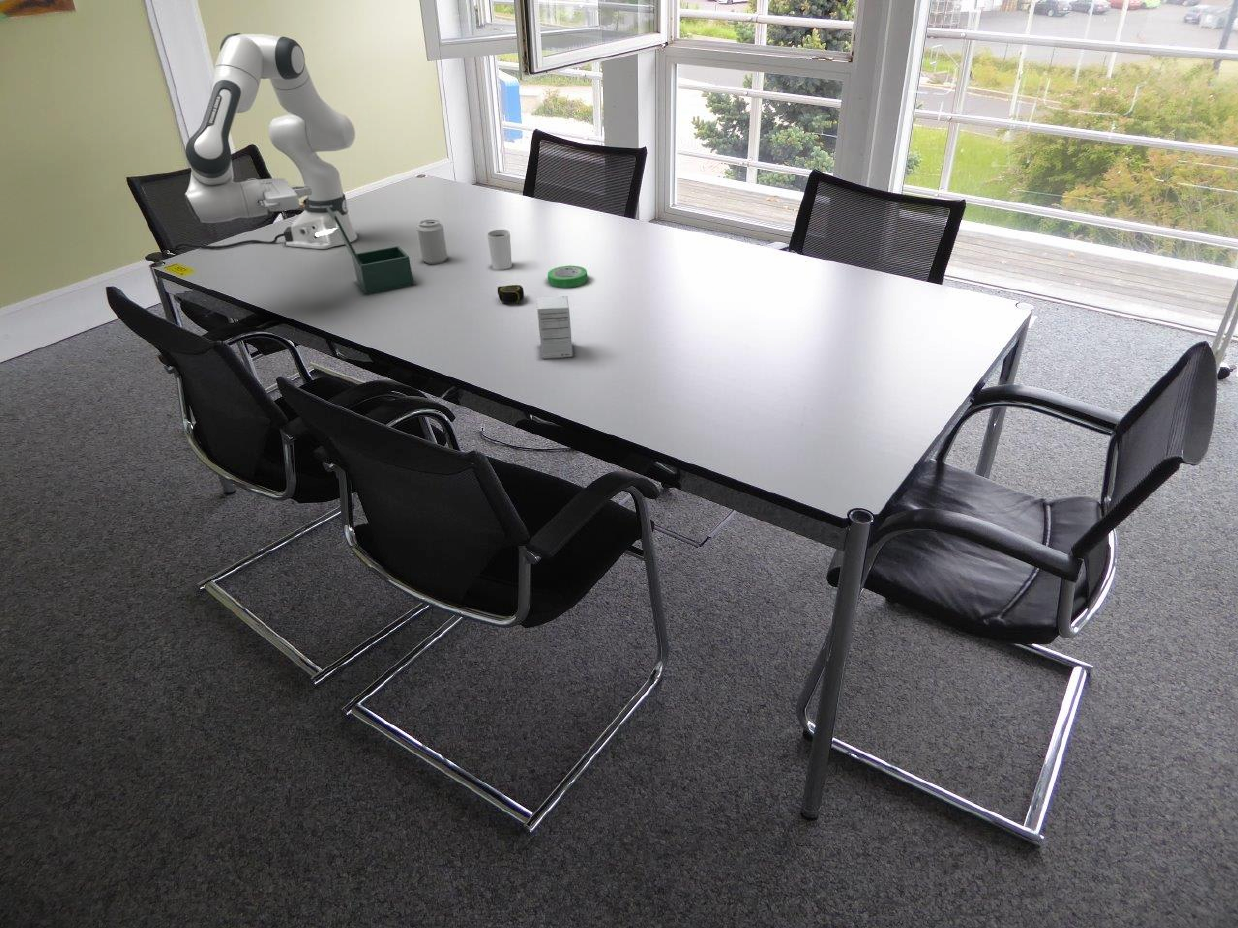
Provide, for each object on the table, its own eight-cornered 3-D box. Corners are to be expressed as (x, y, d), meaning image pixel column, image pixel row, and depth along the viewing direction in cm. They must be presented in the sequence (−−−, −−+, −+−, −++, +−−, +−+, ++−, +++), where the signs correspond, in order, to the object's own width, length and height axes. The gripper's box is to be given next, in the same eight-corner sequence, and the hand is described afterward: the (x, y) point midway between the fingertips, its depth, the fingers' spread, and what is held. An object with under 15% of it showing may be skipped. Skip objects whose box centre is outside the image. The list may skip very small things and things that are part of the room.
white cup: (517, 264, 259) (514, 231, 254) (505, 271, 254) (502, 238, 249) (498, 261, 262) (494, 228, 256) (486, 268, 257) (482, 235, 251)
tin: (403, 273, 256) (398, 245, 251) (413, 285, 247) (409, 256, 243) (357, 282, 251) (351, 254, 246) (366, 294, 242) (360, 266, 238)
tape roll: (540, 282, 246) (539, 273, 244) (568, 271, 252) (567, 262, 251) (567, 291, 239) (567, 282, 238) (595, 279, 246) (595, 270, 245)
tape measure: (523, 295, 238) (522, 282, 236) (525, 304, 232) (524, 291, 230) (498, 298, 237) (496, 284, 235) (500, 307, 231) (498, 294, 229)
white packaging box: (541, 346, 210) (536, 296, 203) (571, 344, 210) (568, 294, 203) (541, 359, 204) (536, 309, 197) (572, 357, 204) (569, 306, 197)
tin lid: (327, 206, 237) (325, 207, 237) (336, 216, 229) (333, 217, 229) (352, 252, 246) (350, 253, 246) (361, 264, 238) (359, 265, 238)
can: (450, 256, 267) (444, 217, 261) (443, 265, 261) (438, 225, 254) (426, 256, 268) (420, 217, 261) (419, 265, 262) (413, 225, 255)
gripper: (258, 195, 214) (315, 186, 219) (247, 177, 229) (301, 169, 234) (264, 220, 217) (321, 211, 222) (253, 201, 233) (306, 193, 238)
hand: (310, 190), depth 228 cm, fingers closed
